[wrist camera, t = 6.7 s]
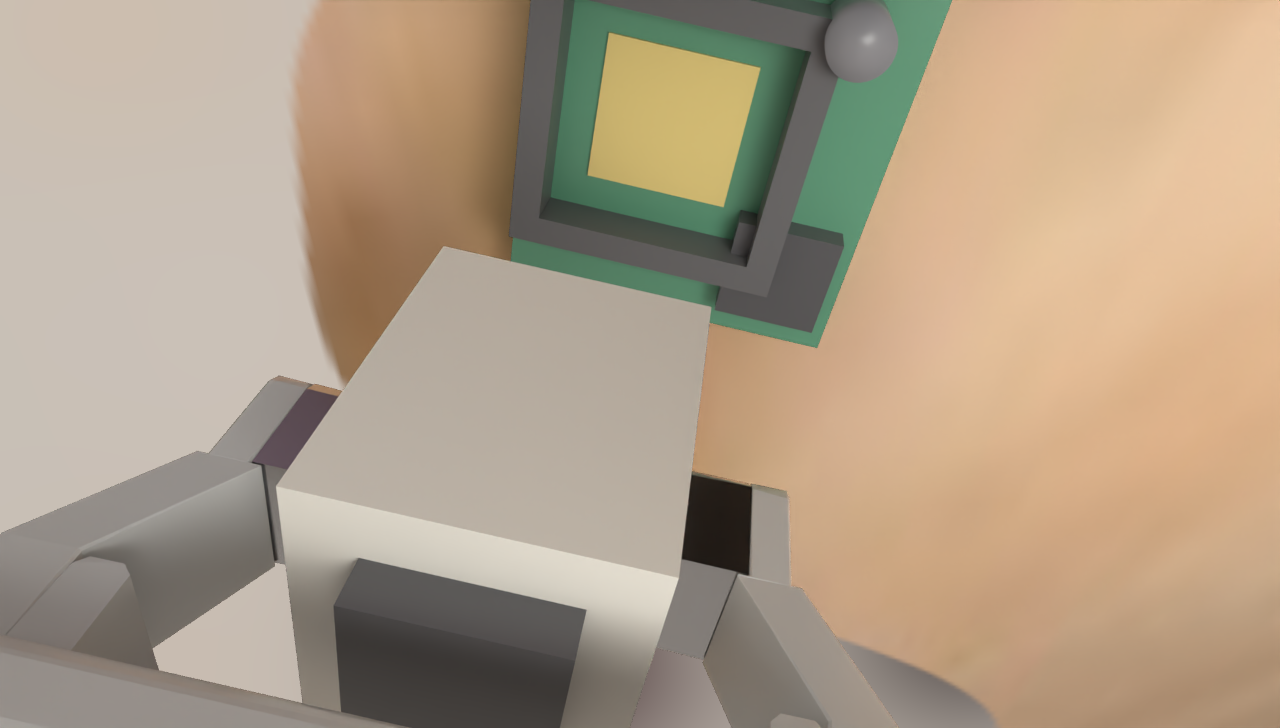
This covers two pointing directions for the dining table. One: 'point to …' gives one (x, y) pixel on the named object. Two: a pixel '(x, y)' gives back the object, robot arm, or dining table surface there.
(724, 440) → the dining table surface
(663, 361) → the white and grey block
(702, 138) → the header board
